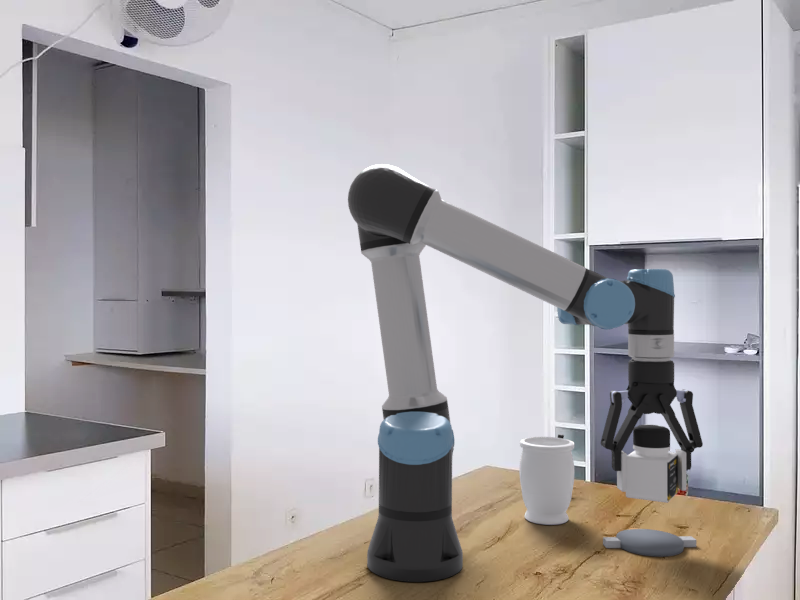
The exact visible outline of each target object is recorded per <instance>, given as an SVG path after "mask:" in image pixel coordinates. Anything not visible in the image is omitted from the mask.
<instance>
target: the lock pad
mask: <svg viewBox="0 0 800 600" xmlns="http://www.w3.org/2000/svg"><path fill="white" fill-rule="evenodd" d="M602 545H603V546H604V547H605V548H606V549H621V550H624V551H626V552H627V553H628V552H629V553H631V554H635V555H641V556H648V557H672V556H674V557H675V556H677V555H680V554H682V553H683V552H684V548H697V539H696V538H695V537H693V536H692V535H690V536H689V535H687V536H685V535H684V536H683V535H682V536H678V535H675V534H674V533H670V532H668V531H662V530H657V529H648V528H638V527H636V528H635V527H631V528H628V527H627V529H624V530H620V531H618V532H617V533H616V535H615V536H610V537H609V536H606V537H602Z"/></svg>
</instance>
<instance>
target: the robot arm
mask: <svg viewBox="0 0 800 600" xmlns="http://www.w3.org/2000/svg"><path fill="white" fill-rule="evenodd" d="M347 203H348V204H347V206H348V209H349V212H350V215H351V217H352V219H353V220H354V222H355V223H356V224H357V233H358V238H359V239H358V240H359V245H360V246H359V247H360V253H361V254H362V255H363V256H364V257H365V258H366V259H368V261H369V262H370V263H371V271H372V280H373V285H374V292H375V299H376V300H375V301H376V308H377V314H378V315H377V316H378V324H379V329H380V330H379V331H380V332H379V333H380V337H381V339H380V340H381V345H382V346H381V347H382V352H383V360H384V369H385V376H386V381H387V382H386V383H387V384H386V385H387V390H388V397H387V399H386V400H385V401H384V402H383V404H382V405H381V412H382V418H383V420H382V421H381V423H380V425H379V429H378V430H379V433H378V436H377V445H378V515H377V516H378V518H377V521H376V523H375V526H374V530H373V532H372V535H371V539H370V542H369V545H368V548H367V552H366V553H367V554H366V555H367V557H366V558H367V561H366V562H367V563H366V565H367V568H368V570H369V571H371V572H372V573H374V574H375V575H377V576H379V577H381V578H385V579H389V580H393V581H400V582H413V583H416V582H417V583H419V582H433V581H440V580H444V579H447V578H450V577H453V576H455V575H457V574H458V573H460V572H461V571H462V569H463V564H464V562H463V560H464V559H463V558H464V557H463V556H464V555H463V549H462V546H461V542H460V539H459V536H458V533H457V530H456V527H455V523H454V520H453V513H452V512H453V510H452V509H453V456H454V455H453V454H454V449H455V448H454V447H455V434H454V433H455V432H454V430H453V427H452V424H451V417H450V410H449V404H448V397H447V396H446V395H445V394H443V393H442V392H441V391H439V389H438V387H437V386H438V385H437V379H436V377H437V376H436V370H435V363H434V356H433V347H432V341H431V335H430V325H429V318H428V311H427V310H428V309H427V302H426V297H425V296H426V294H425V289H424V282H423V281H424V280H423V275H422V266H421V258H420V255H421V253H422V251H423V250H424V249H425V247H426V246H427V247H429V248H432V249H434V250H436V251H439V252H440V253H442V254H444V255H446V256H449V257H451V258H453V259H455V260H456V261H459V262H461V263H464V264H466V265H467V266H470V267H472V268H473V269H476V270H478V271H480V272H483V273H484V274H487V275H489V276H490V277H492V278H495V279H497V280H500V281H501V282H503V283H506V284H508V285H510V286H512V287H514V288H517V289H518V290H520V291H522V292H524V293H526V294H529V295H531V296H532V297H535V298H537V299H539V300H541V301H543V302H546V303H547V304H550V305H552V306H554V307H556V309H557V310H556V311H557V317H558V320H559V322H560V323H561V324H563V325H574V326H581V325H582V326H583V325H585V326H586V325H587V326H594V327H596V328H599V329H600V330H612V329H616V328H620V327H622V326H624V325H627V329H628V332H627V334H628V335H627V337H628V338H627V340H628V341H627V345H628V346H627V356H628V357H629V358H631V359H629V361H627V364H628V365H627V366H628V367H627V369H628V370H627V371H628V373H627V374H628V375H627V377H628V378H627V379H628V386H627V388H626V390H620V391H618V390H615V389H612V390H611V391H610V392H609V399H610V401H609V403H610V406H609V409H608V413H607V415H606V416H607V417H606V420H605V424H604V428H603V431H602V432H603V433H602V435H601V439H600V445H601V447H603V448H605V449H607V450H610V451H611V468H612V470H613V471H615V472H616V487H617V489H618V490H620V491H621V492H622V493H623V492H625V493H626V492H627V455H628V454H627V452H626V451H625V452H624V451H623V449H624V448H625V446H626V444H627V442H628V440H629V438H630V436H631V435H632V434H633V429H634V428H635V427H636V425H637V423H638V421H640V419H641V418H642V416H643V415H650V414H651V415H652V414H657V415H661V416H662V417H663V419H664V421H665V422H666V424H667V425H668V427H669V428H668V429H669V430H670V432H671V434H672V435H673V436H674V439H675V440H676V443H677V444H678V445H679V449H678V448H676V449H675V453H677V489H679V490H680V491H683V492H684V491H687V471H690V470H691V468H692V453H694V451H695V449H697V448H698V449H699V448H702V447H703V439H702V435H701V432H700V428H699V424H698V421H697V417H696V413H695V409H694V406H693V400H694V393H693V391H692V390H691V391H690V390H687V389H683V388H682V389H681V390H680V389H676V387H675V362H674V361H673V360H672V358H674V357H675V330H674V329H675V327H674V326H675V321H674V320H675V298H676V294H675V287H674V286H675V285H674V274H673V272H672V271H670V270H669V269H666V268H646V269H645V268H640V269H638V268H637V269H629V271H628V273H627V277H626V280H618V279H616V278H609V277H606V276H604V275H602V274H600V273H598V272H595V271H593V270H592V269H589V268H586V266H583V265H581V264H579V263H577V262H574V261H573V260H571V259H568V258H567V257H564V256H562V255H560V254H557V253H556V252H554V251H551V250H549V249H548V248H545V247H543V246H542V245H539V244H537V243H535V242H533V241H531V240H529V239H526V238H524V237H522V236H520V235H518V234H516V233H514V232H511V231H509V230H507V229H505V228H503V227H501V226H499V225H496V224H495V223H492V222H490V221H488V220H486V219H484V218H481V217H480V216H478V215H476V214H474V213H471V212H469V211H468V210H465V209H464V208H461V207H458V206H457V205H455V204H452V203H451V202H449V201H446V200H444V199H442V197H441V194H440V192H439V190H438V189H436V188H434V187H432V186H430V185H427V184H425V183H424V182H422V181H420V180H418V179H417V178H415V177H413V176H412V175H410V174H409V173H407V172H406V171H405V170H403V169H401V168H399V167H397V166H394V165H390V164H385V163H384V164H383V163H381V164H374V165H371V166H369V167H367V168H365V169H363V170H362V171H361V172H359V173H358V174H357V176H356V177H355V178H354V179H353V181H352V182H351V185H350V187H349V190H348V194H347ZM675 398H676V400H677V402H679V407H680V410H681V414H682V418H683V422H684V425H685V428H686V433H685V430H684V429H683V427H682V425H681V423H680V422H679V419H678V418H677V417H676V412H675V411H674V409H673V407H672V405H671V404H672V402H673V401H674V400H675ZM626 399H628V400H629V401H630V403H631V405H630V407H629V408H628V411H627V414H626V416H625V417H624V420H623V422H622V424H621V426H620V427H619V429H618V431H617V428H618V424H619V422H620V416H621V413H622V409H623V404H624V403H625V401H626ZM616 431H617V433H616ZM686 434H687V435H686Z"/></svg>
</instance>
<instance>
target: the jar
mask: <svg viewBox="0 0 800 600" xmlns="http://www.w3.org/2000/svg"><path fill="white" fill-rule="evenodd" d="M519 447H520V448H522V450H521V451H522V452H521V455H520V459H519V460H520V461H519V470H518V471H519V472H518V473H519V483H520V488H521V495H522V500H523V501H522V502H523V503H524V506H525V508H526V511H525V514H524V519H526V521H528V522H529V523H530V522H531V523H532V524H533V523H534V524H537V525H547V526H553V525H554V526H555V525H562V524H565V523H567V522H568V521H569V516H568V514H567V510H569V507H570V504H571V501H572V495H573V489H574V483H575V460H574V457H573V453H572V451H573V450H574V449H575V442H574V441H572V440H570V439H567V438H563V439H562V438H558V437H554V436H533V437H531V436H530V437H524V438H522V439H520V440H519Z"/></svg>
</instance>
